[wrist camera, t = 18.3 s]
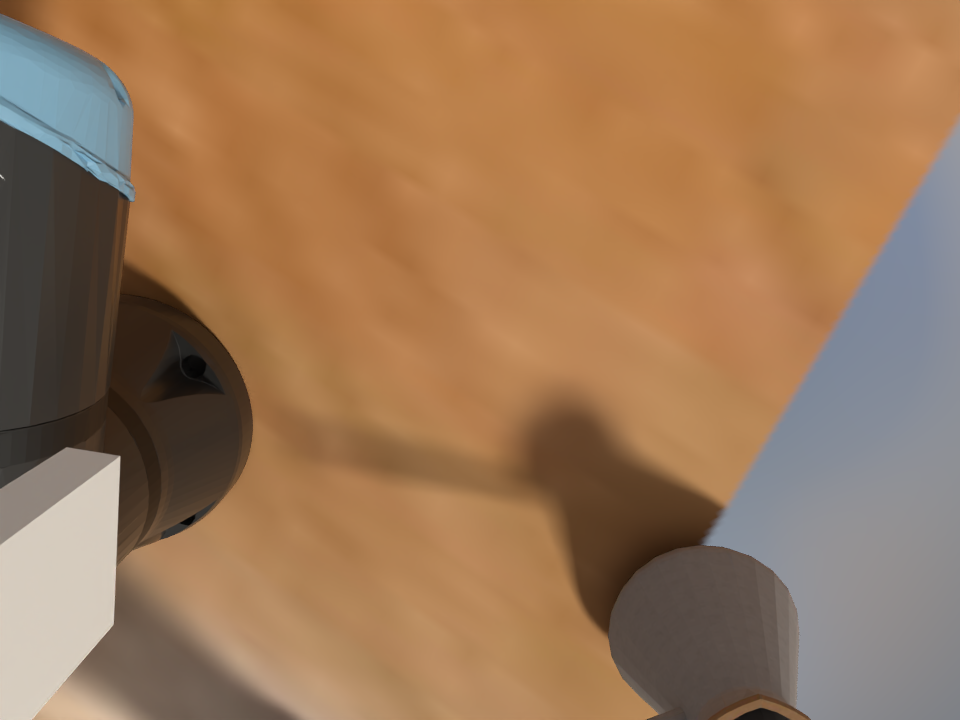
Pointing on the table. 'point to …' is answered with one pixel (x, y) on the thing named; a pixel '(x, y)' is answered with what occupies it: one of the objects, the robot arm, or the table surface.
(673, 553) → the coffee pot
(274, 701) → the table surface
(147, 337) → the robot arm
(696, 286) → the table surface
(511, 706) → the table surface
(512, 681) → the table surface
